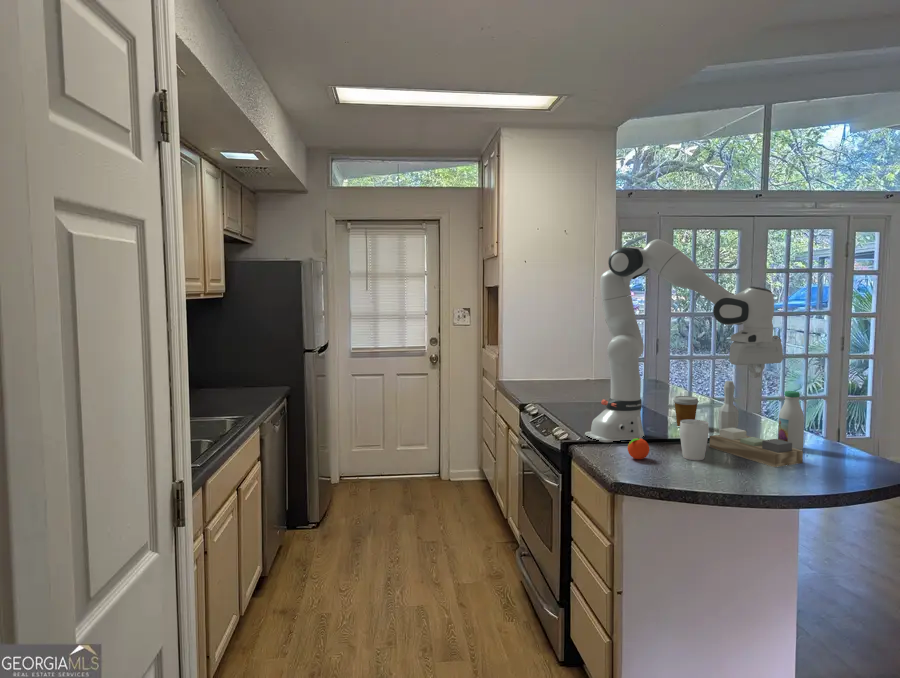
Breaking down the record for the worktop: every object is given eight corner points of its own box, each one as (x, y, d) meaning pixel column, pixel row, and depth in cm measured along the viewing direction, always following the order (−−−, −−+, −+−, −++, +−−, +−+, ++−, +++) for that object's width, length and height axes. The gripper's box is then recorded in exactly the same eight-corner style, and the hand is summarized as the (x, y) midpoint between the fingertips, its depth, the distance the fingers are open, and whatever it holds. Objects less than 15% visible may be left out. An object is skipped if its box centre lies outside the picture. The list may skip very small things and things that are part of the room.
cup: (707, 455, 207) (708, 420, 206) (709, 462, 198) (709, 425, 197) (678, 453, 210) (679, 418, 209) (679, 460, 201) (679, 424, 200)
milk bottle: (802, 447, 216) (803, 390, 215) (804, 452, 209) (806, 394, 208) (777, 444, 220) (778, 389, 218) (778, 450, 213) (780, 392, 211)
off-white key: (732, 444, 211) (733, 432, 211) (719, 440, 217) (719, 429, 217) (746, 442, 213) (746, 431, 213) (732, 438, 219) (732, 427, 219)
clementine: (635, 463, 198) (635, 441, 198) (620, 458, 204) (620, 437, 204) (653, 460, 202) (654, 438, 201) (638, 455, 208) (638, 434, 208)
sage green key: (754, 454, 203) (754, 442, 203) (739, 450, 209) (740, 438, 208) (767, 452, 205) (768, 440, 205) (753, 448, 211) (753, 436, 210)
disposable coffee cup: (701, 429, 244) (702, 399, 244) (677, 429, 245) (678, 399, 244) (692, 424, 254) (693, 395, 253) (669, 424, 254) (670, 395, 253)
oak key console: (774, 467, 192) (775, 454, 192) (709, 447, 217) (709, 436, 217) (802, 463, 197) (802, 450, 196) (735, 443, 222) (735, 432, 221)
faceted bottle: (728, 438, 230) (730, 379, 228) (741, 442, 224) (743, 382, 222) (714, 439, 228) (716, 380, 227) (727, 443, 222) (728, 383, 221)
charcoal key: (777, 457, 195) (778, 444, 194) (762, 452, 200) (762, 440, 200) (791, 455, 197) (792, 442, 196) (775, 450, 202) (776, 438, 202)
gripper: (772, 334, 210) (770, 374, 212) (726, 336, 203) (724, 377, 204) (789, 336, 205) (786, 377, 206) (742, 337, 197) (740, 380, 198)
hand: (755, 377), depth 205 cm, fingers closed
